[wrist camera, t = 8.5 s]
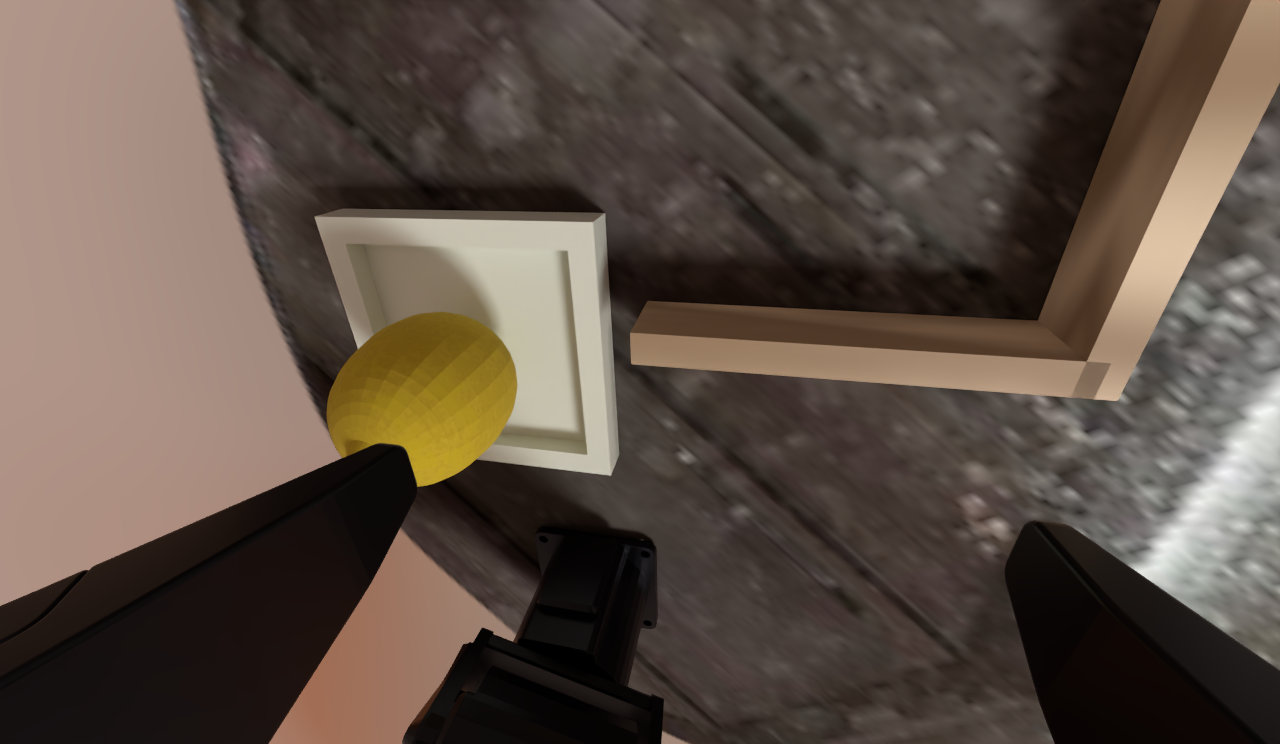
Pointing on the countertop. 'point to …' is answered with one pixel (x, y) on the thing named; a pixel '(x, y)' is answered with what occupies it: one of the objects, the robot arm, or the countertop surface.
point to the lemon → (425, 393)
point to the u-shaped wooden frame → (1091, 264)
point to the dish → (499, 311)
